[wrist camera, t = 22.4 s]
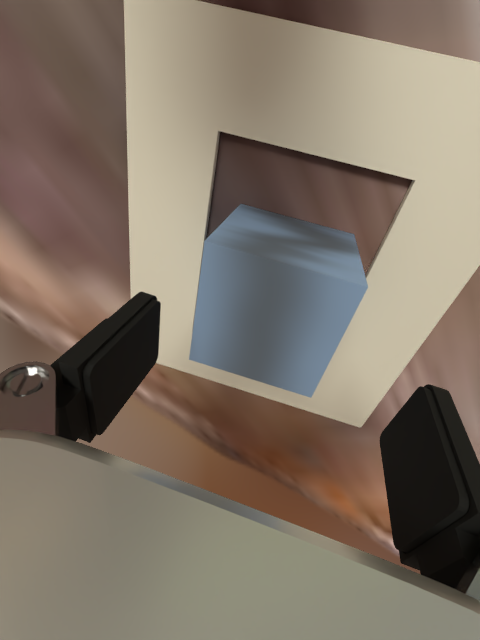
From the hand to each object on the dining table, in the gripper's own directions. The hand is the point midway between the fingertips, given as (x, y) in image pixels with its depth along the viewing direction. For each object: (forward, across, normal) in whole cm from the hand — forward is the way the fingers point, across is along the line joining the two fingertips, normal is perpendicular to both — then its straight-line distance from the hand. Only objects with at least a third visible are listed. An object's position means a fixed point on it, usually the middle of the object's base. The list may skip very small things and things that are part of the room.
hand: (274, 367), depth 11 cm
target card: (+8, +1, 0) cm, 8 cm away
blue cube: (+8, +1, 0) cm, 8 cm away
